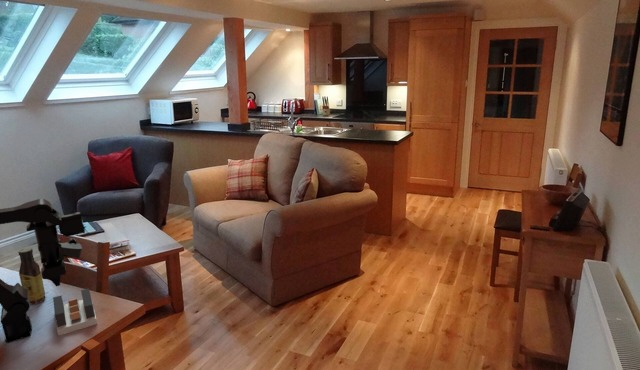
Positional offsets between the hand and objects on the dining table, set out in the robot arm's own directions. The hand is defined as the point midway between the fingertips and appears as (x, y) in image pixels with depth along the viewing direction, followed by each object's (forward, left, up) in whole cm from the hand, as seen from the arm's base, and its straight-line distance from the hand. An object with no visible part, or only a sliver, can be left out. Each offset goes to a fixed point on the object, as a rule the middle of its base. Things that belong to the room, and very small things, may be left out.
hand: (58, 285), depth 142 cm
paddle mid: (+3, 0, -11) cm, 11 cm away
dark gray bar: (+7, 0, -11) cm, 13 cm away
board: (+3, 0, -13) cm, 13 cm away
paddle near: (+3, -5, -11) cm, 12 cm away
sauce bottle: (-8, +20, -13) cm, 25 cm away
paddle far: (+3, +4, -11) cm, 12 cm away
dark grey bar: (-1, 0, -11) cm, 11 cm away
